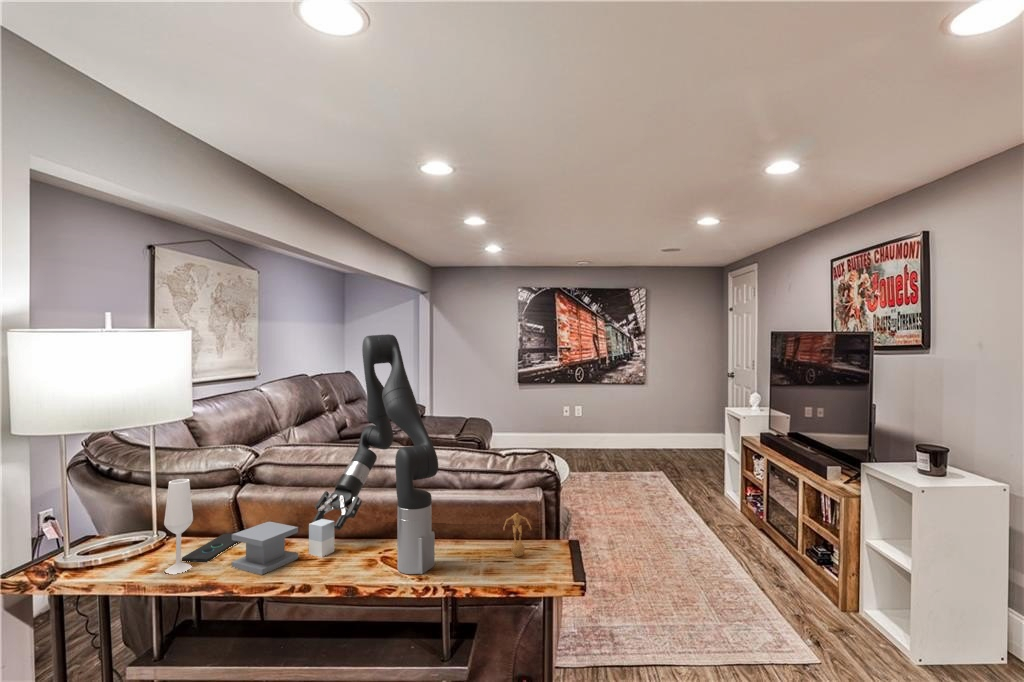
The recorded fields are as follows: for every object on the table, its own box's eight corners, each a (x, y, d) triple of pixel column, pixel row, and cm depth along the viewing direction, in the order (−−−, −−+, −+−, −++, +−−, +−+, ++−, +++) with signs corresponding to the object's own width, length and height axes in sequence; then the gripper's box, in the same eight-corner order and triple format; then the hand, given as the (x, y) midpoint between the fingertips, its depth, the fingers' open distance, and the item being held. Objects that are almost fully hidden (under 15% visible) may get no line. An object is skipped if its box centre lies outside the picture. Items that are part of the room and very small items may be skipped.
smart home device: (180, 557, 146) (223, 532, 166) (179, 563, 146) (223, 538, 166) (208, 558, 146) (248, 533, 166) (208, 564, 146) (248, 538, 166)
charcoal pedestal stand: (298, 558, 149) (298, 527, 149) (262, 575, 138) (262, 541, 138) (268, 551, 154) (268, 521, 154) (231, 567, 143) (231, 534, 143)
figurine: (504, 559, 148) (504, 517, 148) (502, 551, 154) (502, 510, 154) (533, 558, 149) (533, 516, 149) (530, 550, 155) (529, 509, 155)
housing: (334, 551, 154) (334, 521, 154) (321, 557, 149) (321, 526, 150) (321, 548, 156) (321, 518, 156) (308, 554, 152) (308, 523, 152)
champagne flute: (157, 574, 138) (158, 484, 139) (174, 564, 145) (175, 478, 145) (182, 574, 138) (183, 484, 139) (198, 564, 145) (198, 478, 145)
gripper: (330, 470, 166) (301, 517, 155) (364, 475, 160) (337, 524, 149) (341, 483, 170) (314, 529, 160) (376, 488, 164) (350, 536, 154)
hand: (325, 526), depth 154 cm, fingers open, 8 cm apart
